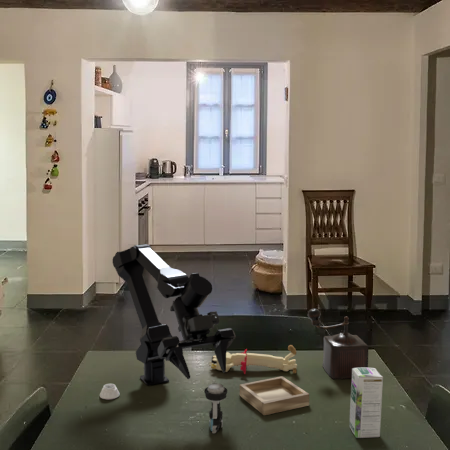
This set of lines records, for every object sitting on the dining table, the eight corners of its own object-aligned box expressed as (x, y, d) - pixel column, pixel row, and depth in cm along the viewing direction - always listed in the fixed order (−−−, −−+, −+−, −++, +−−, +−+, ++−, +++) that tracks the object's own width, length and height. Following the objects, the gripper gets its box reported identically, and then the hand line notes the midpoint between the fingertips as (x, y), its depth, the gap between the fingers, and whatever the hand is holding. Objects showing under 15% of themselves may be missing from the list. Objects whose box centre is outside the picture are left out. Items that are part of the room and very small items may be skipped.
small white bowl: (123, 396, 161) (112, 391, 165) (123, 385, 161) (112, 380, 164) (107, 402, 158) (96, 396, 161) (106, 391, 157) (95, 385, 161)
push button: (225, 436, 140) (225, 393, 138) (201, 434, 140) (201, 392, 139) (228, 422, 146) (228, 382, 145) (206, 421, 147) (206, 381, 145)
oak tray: (239, 395, 162) (239, 384, 161) (282, 386, 167) (282, 376, 167) (264, 415, 150) (264, 403, 150) (309, 405, 156) (309, 394, 155)
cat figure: (293, 368, 184) (209, 361, 185) (296, 340, 183) (212, 333, 183) (296, 381, 174) (208, 373, 175) (299, 352, 173) (210, 344, 174)
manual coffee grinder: (355, 363, 184) (357, 305, 182) (368, 378, 174) (370, 316, 171) (304, 366, 182) (305, 307, 180) (314, 380, 171) (316, 318, 169)
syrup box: (348, 426, 144) (350, 367, 142) (373, 426, 145) (375, 366, 143) (355, 438, 139) (357, 376, 137) (381, 437, 139) (383, 376, 137)
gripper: (160, 305, 144) (179, 366, 136) (232, 296, 152) (253, 353, 144) (150, 328, 152) (166, 387, 144) (218, 319, 160) (238, 374, 152)
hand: (207, 375), depth 146 cm, fingers open, 9 cm apart
